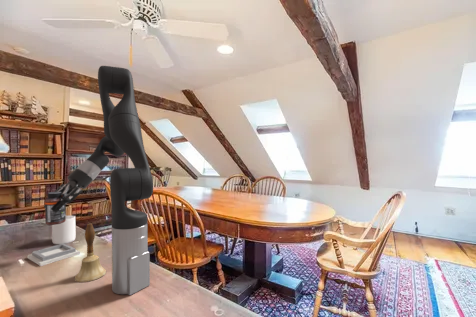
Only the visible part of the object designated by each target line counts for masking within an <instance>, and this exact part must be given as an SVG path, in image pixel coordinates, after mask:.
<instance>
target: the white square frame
mask: <svg viewBox="0 0 476 317" xmlns="http://www.w3.org/2000/svg"><path fill="white" fill-rule="evenodd" d="M80 252H81V251H80V250H78V249H76V248H75V247H73V246H71V245H69V244H67V243H65V244H55V245H53V246H49V247H48V246H47V247H45V248H40V249H39V250H34V251H32V252H31V254H28V255H27V259H28V260H30V261H32V263H34V264H37V265H38V266H40V267H43V266H46V265H49V264H51V263H56V262H58V261H62V260H66V259H68V258H72V257H74V256H78V255H80Z"/></svg>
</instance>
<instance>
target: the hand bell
mask: <svg viewBox="0 0 476 317" xmlns="http://www.w3.org/2000/svg"><path fill="white" fill-rule="evenodd" d="M95 232H96V231H95V228H94V226H93V223H91V222H90V223H87V224H86V228H85V230H84V238H85V243H86V256H85V257H83V258H82V260H81V266H80V269H79V271H78V273H77V274H76V275H75V276H74V281H75V282H78V283H86V282H93V281H96V280H98V279H101V278H102V277H104V276H105V274H106V273H107V270H106V269H105V268H104V267H103V266H102V264H101V262H100V261H101V260H100V257H99V256H98V255H96V254H94V253H95V252H94V242H95V236H96V234H95Z"/></svg>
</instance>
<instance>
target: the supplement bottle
mask: <svg viewBox="0 0 476 317" xmlns="http://www.w3.org/2000/svg"><path fill="white" fill-rule="evenodd" d="M61 197H62V192H55V191H51V192H48V193H47V198H46V199H45V200H44V205H45V208H44V218H45V219H44V220H45V225H48V226H52V225H56V224H61V223H63V222H65V221H66V216H67V214H66V204H64V206H63V207H62V208H61V209H60V210H59V211H58V212H54V211H52V210H51V208H52V207H53V206H54V205H55V204H56V203H57V202H58V201H60V199H61Z"/></svg>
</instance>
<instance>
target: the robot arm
mask: <svg viewBox="0 0 476 317" xmlns="http://www.w3.org/2000/svg"><path fill="white" fill-rule="evenodd" d="M97 84H98V92H99V98H100V103H101V104H100V105H101V109H102V116H103V134H104V135H105V136H103V137H102V138H101V139H100V140H99V143H98V145H97V146H96V148H95V150H94V151H93V152H92V153H91V155H89V157H88V158H87V159H85V161H83V162H81V164H79V165H78V166H77V167H76V168H75V169H74V170H73V171H72V172H71V173H70V174H69V175H68V176H67V180H68V182H67V183H65V184H64V183H62V184H60V185H59V186H58V187H57V189H56V190H54V192H62V197H61V199H60V201H58V202H57V203H56V204H55V205H54V206H53V207H52V208H51V210H52V211H54V212H58V211H59V210H60V209H61V208H62V207H63V206H64V204H65V205H67V204H70V203H72V202H73V201H74V200H75V199H76V198H77V197H78V196H80V194H82V192H83V190H82V189H86V188H88V186H89V185H90V184H92V183H93V181H94V180H95V179H96V178H97V177H98V176H99V174H100V173H101V172H102V171H103V170H104V169H105V168H106V167H107V165H108V164H109V162H110V159H109V157H108V156H107V155H106V154H105V153H108V154H110V155H112V156H113V157H114V156H115V157H121V156H123V155H124V154H126V155H127V157H128V158H129V159H130V161H131V162H132V165H133V167H126V168H123V167H122V168H115V169H113V170H112V171H111V173H110V177H109V190H110V192H109V194H110V202H111V203H110V206H111V290H112V292H113V293H115V294H117V295H129V296H131V295H135V293H137V292H139V291H142V290H143V289H145V288H147V287H149V286H150V284H151V281H150V280H151V278H150V277H151V273H150V270H151V269H150V262H151V261H150V260H151V259H150V258H151V257H150V251H149V250H148V214H147V213H146V212H144V211H141V210H135V209H132V208H130V207H128V206H126V202H130V201H131V202H132V201H141V200H147V199H150V198H151V197H152V195H153V193H154V180H153V174H152V171H151V167H150V164H149V161H148V157H147V154H146V149H145V145H144V139H143V134H142V127H141V122H140V118H139V114H138V109H137V104H136V98H135V88H134V80H133V75H132V72H131V71H130V69H128V68H124V67H119V66H110V65H100V66H99V68H98V69H97ZM110 94H116V95H119V94H120V95H123V96H122V97H121V99H120V101H119V102H117V104H116V105H115V104H114V103H113V101H112V99H111V97H110ZM43 208H44V209H45V204H44V205H43Z"/></svg>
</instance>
